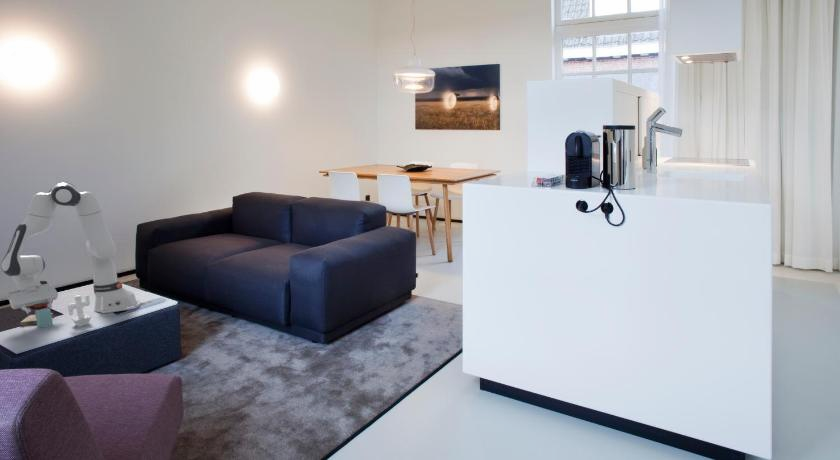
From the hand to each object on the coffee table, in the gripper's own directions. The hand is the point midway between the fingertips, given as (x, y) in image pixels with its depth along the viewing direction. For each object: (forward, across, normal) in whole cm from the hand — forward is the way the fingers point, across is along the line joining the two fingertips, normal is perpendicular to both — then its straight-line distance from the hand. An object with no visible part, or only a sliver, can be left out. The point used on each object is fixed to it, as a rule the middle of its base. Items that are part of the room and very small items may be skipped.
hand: (39, 310), depth 281 cm
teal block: (+8, 0, +3) cm, 8 cm away
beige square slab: (0, +1, +11) cm, 11 cm away
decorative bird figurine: (-10, +7, +21) cm, 25 cm away
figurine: (+18, +11, -8) cm, 23 cm away
